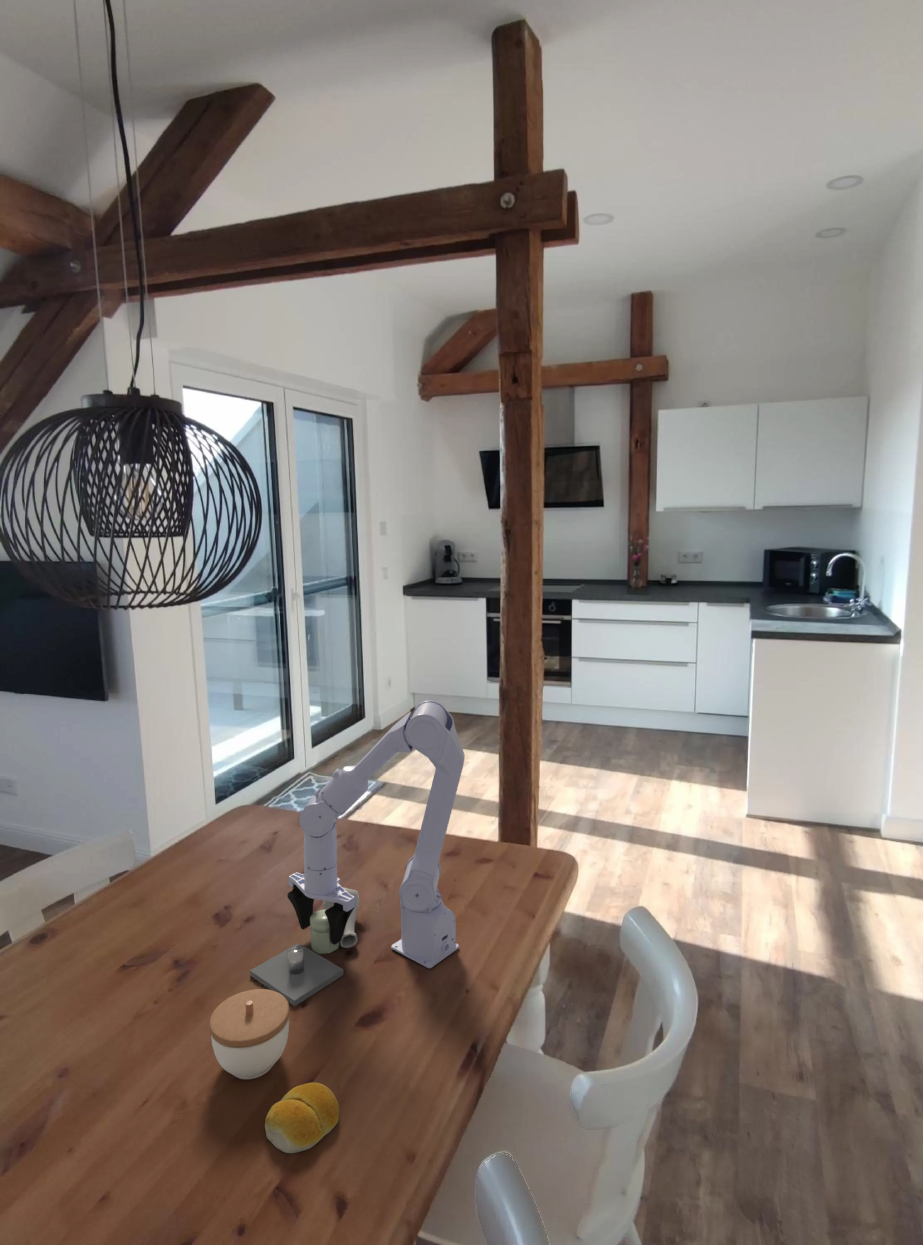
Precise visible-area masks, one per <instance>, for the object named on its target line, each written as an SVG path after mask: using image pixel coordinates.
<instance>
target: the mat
mask: <svg viewBox="0 0 923 1245" xmlns="http://www.w3.org/2000/svg"><path fill="white" fill-rule="evenodd" d="M295 946H299V947H302V948H303V956H304V971H303V972H302V973H300V974H297V975H293V974H290V973H289V964H288V950H289V949H290V948H292V947H295ZM249 975H250V977H251V978H253V979H254V980H256V981H257V982H259V983H260V984H262V985H263V986H264V987H266V989H267V988H268V990H272V991H275V992H278V993H280V994H281V995H283V996H284V997H285V998H286V1000H287V1001H288V1004H289V1005H290V1004H291V1006H293V1007H296V1006H298V1005H299V1004H301V1003H303V1002H304V1001H305V1000H307V999H308V998H310V997H312V996H313V995H314V994H316V993H317V992H319V991H321V990H322V989H324V988H325V987H328V986H329V985H331V984H332V983H333V982H335V981H336V980H338V979H340V977H343V976H344V969H343V968H341V967H340V966H338V965H336V964H335V963H333V962H332V961H331V960H329V959H326V958H325V957H323V956H321V955H320V954H318V953H316V952H315V951H313V950H312V949H310V948H308V947H306V946H304V945H303V944H301V943H300V942H298V943H296V944H294V945H292V946H291V947H289V948H287V949H285V950H283V951H281V952H280V953H278V954H275V956H273V957H271V958H270V959H268V960H266V961H264V962H262V963H261V964H259V965H257V966H255V967H254V968H252V969H250V970H249Z"/></svg>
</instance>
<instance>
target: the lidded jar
mask: <svg viewBox="0 0 923 1245" xmlns="http://www.w3.org/2000/svg"><path fill="white" fill-rule="evenodd" d="M289 1029H290V1003H289V1002H288V1001H287V1000H286V998H285V997H284V996H283V995H281V994H280V993H278V992H275V991H272V990H270V989H269V988H268V989H267V988H266V989H265V988H255V989H248V990H245V991H241V992H238V993H236V994H234V995H232V996H229V997H228V998H226V999H224V1001H222V1002H221V1003H220V1004H219V1005H217V1007H216V1008H215V1009H214V1011H213V1012H212V1014H211V1016H210V1018H209V1032H210V1035H211V1036H210V1037H211V1038H210V1039H211V1045H212V1049H213V1053H214V1056H215V1058H216V1060H217V1062H218V1064H219V1066H221V1067H222V1069H223V1070H224V1071H226V1072H227V1073H229V1074H231V1075H232V1076H233V1077H234V1078H237V1079H240V1080H244V1081H245V1080H254V1079H257V1078H260V1077H262V1076H264V1075H265V1074H266V1073H268V1072H269V1071H270V1070H271V1069H272V1068H273V1067H274V1065H276V1063H277V1062H278V1060H280V1058H281V1057H282V1054H283V1053H284V1051H285V1048H286V1046H287V1043H288V1038H289V1032H290V1030H289Z"/></svg>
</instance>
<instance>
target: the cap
mask: <svg viewBox="0 0 923 1245" xmlns="http://www.w3.org/2000/svg"><path fill="white" fill-rule="evenodd" d="M326 910H327V909H325V910H323V909H320V910H317V911H315V912H313V914H312V915H311V917H310V926H309V927H310V929H309V931H310V945H311V947H310V948H311V949H310V950H311V951H313V952H315V953H316V954H318V955H320V954H321V955H322V954H331V953H332V952H334V951H336V950H338V949H339V947H340V942H338V943H337V944H335V945H334V944H332V943H331V939H330V926H329V922H328V919H327V916H326V914H325V911H326Z"/></svg>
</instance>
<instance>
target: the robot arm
mask: <svg viewBox="0 0 923 1245" xmlns="http://www.w3.org/2000/svg"><path fill="white" fill-rule="evenodd" d="M411 714H412V716H411ZM413 748H414V750H416V751H417V752H419V753H420V754H422V755H423V756H424V757H425V758H426V757H427V759H428V760H429V761H430V763H431V764H432V766H434V768H435V770H434V774H433V777H432V778H433V779H432V782H431V786H430V791H429V794H428V797H427V802H426V807H425V810H424V813H423V819H422V823H421V827H420V830H419V834H418V837H417V842H416V846H415V851H414V854H413V855H412V856H411V857H410V859H409V860H408V861H407V864H406V867H405V872H404V875H403V880H402V883H401V884H400V887H399V888H398V889H399V890H398V898H399V900H400V927H401V928H400V932H401V934H400V935H401V938H400V939H399V940H398V941H396V942H394V943H392V945H391V946H390V947H391V948H390V949H391V950H393V951H395V952H397V953H399V954H401V955H403V956H404V957H406V958H408V959H410V960H412V961H413V962H416V963H418V964H419V965H421V966H423V967H425V968H427V969H432V968H434V967H435V965H437V964H439V963H440V962H441V961H443V960H444V959H446V958H447V957H449V956H450V955H452V953H454V952H455V951H457V950H458V949H459V948H460V945H459V943H457V927H456V924H457V922H456V920H457V918H456V915H455V913H454V912H453V911H452V910H451V909H449V908H448V907H447V906H446V905H445V903H444V901H443V899H442V893H440V890H439V888H438V883H439V879H440V876H441V873H442V872H441V871H442V867H441V865H440V864H441V863H440V857H441V853H442V850H443V846H444V842H445V840H446V839H445V838H446V834H447V831H448V827H449V822H450V819H451V815H452V812H453V808H454V803H455V799H456V794H457V791H458V788H459V784H460V780H461V776H462V772H463V768H464V764H465V752H464V748H463V747H462V744H461V740H460V738H459V735H458V732H457V729H456V724H455V721H454V718H453V716H452V715H451V713H450V712H449V711H448V710H447V708H446V707H445V706H444V705H443V704H442V703H440V702H438V701H436V700H424V701H422V702H420V703H419V704H417V705H416V707H415V708H414V710H413V712H412V711H410V712H408V713H407V714H405V715H404V716H403V717H402V718H401V719H400V720H398V721H397V722H396V723H395V724H394V725H393V726H392V727H391V728H390V729H389V730H388V731H387V732H386V733H385V734H384V735H383V736H382V737H381V738H380V739H379V741H377V743H376V744H375V745H374V746H373V747H372V748H371V749H370V750H369V751H368V752H367V753H366V754H365V755H364V757H362V759H361V760H360V761H359V762H358V763H357V764H356V765H346V766H343V767H342V768H341V769H340V768H336V770H335V771H333V772H332V775H331V777H332V778H331V779H330V781H328V783H327V784H325V785H324V787H323V788H318V789H317V790H316V791H315V792H314V793H313V794H314V795H313V796H312V797H311V798H310V800H309V801H308V802H307V804H306V805H305V806H304V808H303V810H302V811H301V813H300V815H299V826H300V827H301V830H302V831H303V838H304V839H303V867H304V868H303V869H304V870H303V872H304V873H301V872H297V871H296V872H294V873H293V874H291V875H289V876H288V886H289V887H291V888H292V890H290V891H289V892H287V894H286V895H287V899H288V900H289V901H290V903H291V905H292V907H293V909H294V910H295V913H296V917H297V920H298V923H299V927H300V929H301V930H302V931H303V930H306V929H307V928H309V927H310V917H311V915H312V914H313V913H314V902H315V900H319V901H322V902H323V901H329V902H332V903H334V906H332V907H330V908H329V909H327V910H326V911H325V914H326V916H327V919H328V922H329V926H330V939H331V943H332V944H334V945H335V944H337V943H338V942H339V943H340V941H341V939H342V936H343V934H344V930H345V927H346V924H347V921H348V919H349V917H350V915H351V913H352V911H353V909H354V908H355V897H354V896H352V895H350V894H349V893H348V892H347V891H346V890H345V889H344V888H345V887H342V885H341V884H340V883H341V878H339V877H338V847H337V846H338V836H337V822H336V821H337V820H338V818H339V817H341V816H343V815H344V814H345V813H346V812H347V811H348V810H350V808H352V807H353V805H354V804H355V803H356V802H358V800H359V799H360V798H362V796H364V795H365V793H366V792H367V791H368V790H369V779H370V778H371V777H373V775H374V774H375V773H376V772H378V771H379V770H380V769H381V768H382V767H383V766H384V765H385V764H387V762H389V761H390V760H391V759H392V758H393V757H394V756H395V755H396V754H397V753H412V751H413Z"/></svg>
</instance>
